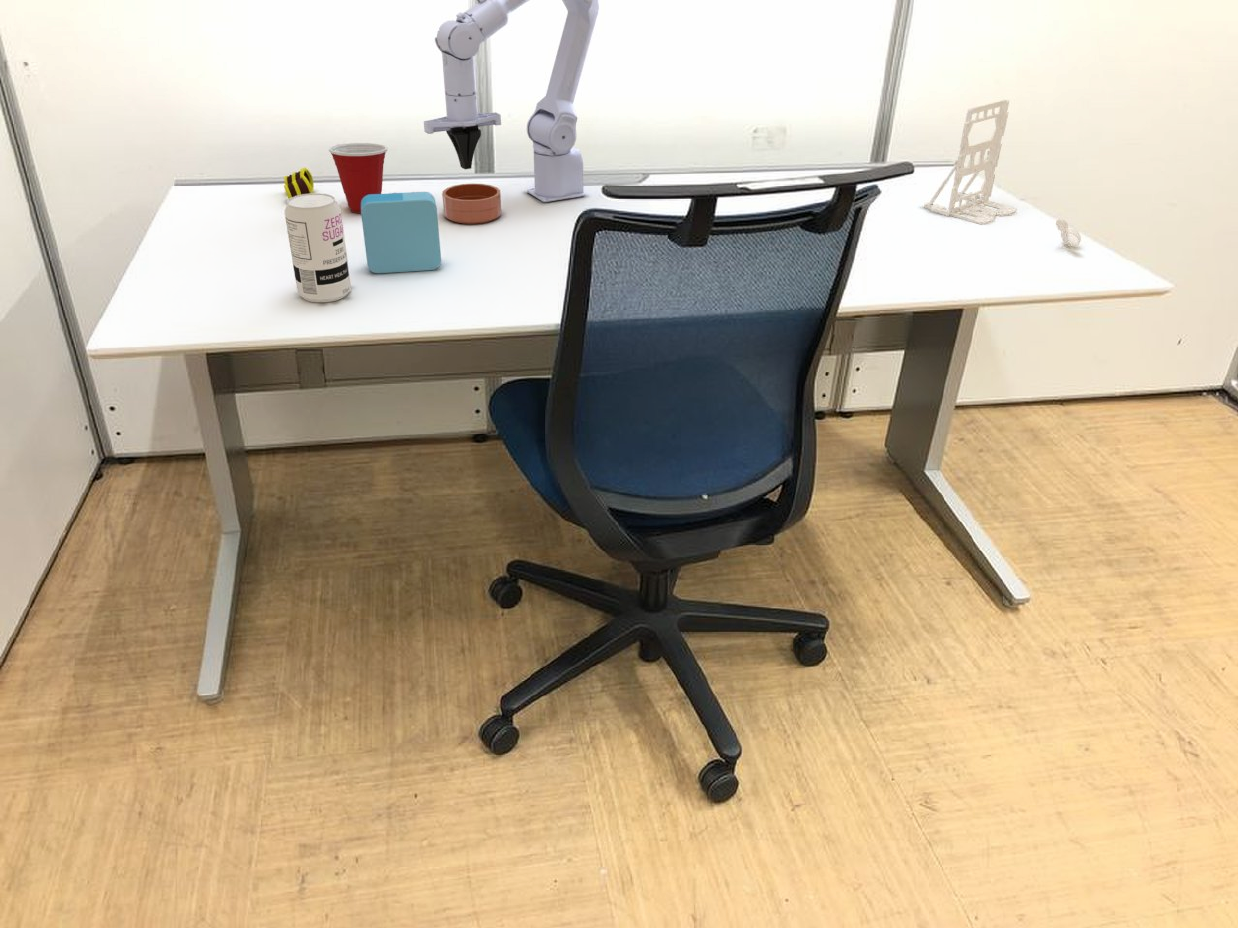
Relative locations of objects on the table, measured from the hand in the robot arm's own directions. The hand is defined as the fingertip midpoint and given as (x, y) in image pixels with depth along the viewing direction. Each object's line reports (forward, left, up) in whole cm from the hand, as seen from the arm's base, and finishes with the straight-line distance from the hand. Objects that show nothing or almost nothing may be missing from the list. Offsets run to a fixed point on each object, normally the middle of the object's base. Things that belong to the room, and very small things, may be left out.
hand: (466, 167), depth 191 cm
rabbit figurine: (-86, +70, -8) cm, 111 cm away
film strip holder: (-88, +46, -8) cm, 99 cm away
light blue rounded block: (+21, +23, -8) cm, 32 cm away
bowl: (+1, +4, -8) cm, 9 cm away
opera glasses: (+26, -23, -8) cm, 36 cm away
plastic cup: (+17, -10, -8) cm, 22 cm away
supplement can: (+36, +28, -8) cm, 47 cm away
